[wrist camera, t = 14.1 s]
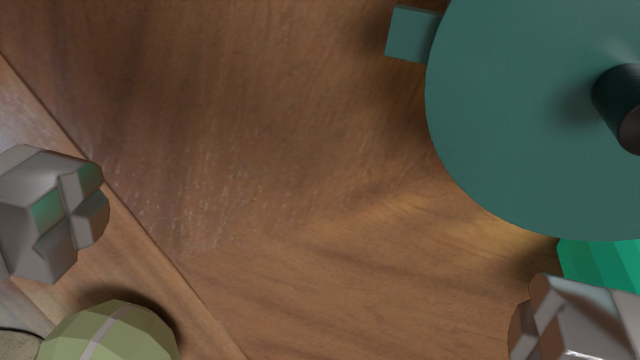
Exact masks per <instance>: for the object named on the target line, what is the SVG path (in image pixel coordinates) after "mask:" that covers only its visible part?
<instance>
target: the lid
mask: <svg viewBox="0 0 640 360" xmlns="http://www.w3.org/2000/svg"><path fill="white" fill-rule="evenodd" d="M424 101H425V114H426V120H427V124H428V129H429V133H430V137H431V139H432V142H433V144H434V147H435V150H436V152H437V154H438V156H439V158H440V160H441V162H442V163H443V165H444V167H445V169H446V170H447V172H448V173H449V174H450V176H451V177H452V178H453V179H454V181H455V182H456V183H457V185H458V186H459V187H460V188H461V189H462V190H463V191H464V192H465V193H466V194H467V195H468V196H469V197H470V198H471V199H473V200H474V201H475V202H477V203H478V204H479V205H481V206H482V207H483V208H485V209H486V210H487V211H489V212H491V213H492V214H494V215H496V216H498V217H499V218H501V219H503V220H505V221H507V222H509V223H512V224H514V225H516V226H518V227H521V228H523V229H526V230H530V231H533V232H536V233H539V234H543V235H547V236H552V237H557V238H562V239H570V240H580V241H623V240H636V239H640V0H450V2H449V4H448V6H447V8H446V10H445V12H444V14H443V16H442V18H441V20H440V22H439V24H438V27H437V30H436V33H435V36H434V39H433V42H432V45H431V48H430V53H429V58H428V63H427V68H426V73H425V89H424Z"/></svg>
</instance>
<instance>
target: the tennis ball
mask: <svg viewBox="0 0 640 360" xmlns="http://www.w3.org/2000/svg"><path fill="white" fill-rule="evenodd" d="M37 360H181V359H180V356H179V352H178V348H177V345H176V341H175V337H174V334H173V331H172V330H171V329H170V327H169V326H168V325H167V324H166V323H165V322H164V321H163V320H162V319H161V318H160V317H159V316H158V315H157V314H156V313H155V312H153V311H151V310H150V309H148V308H147V307H145V306H141V305H137V304H133V303H129V302H125V301H121V300H117V299H113V300H110V301H107V302H104V303H101V304H99V305H96V306H93V307H90V308H88V309H85V310H82V311H80V312H77V313H75V314H72V315H70V316H67V317H65V318H64V319H63V320H62V321H61V322H60V323H59V324H58V326H57V327H56V328H55V329H54V330H53V331H52V332H51V333H50V334H49V335H48V336H47V337H46V338H45V340H44V341H43V342H42V343H41V345H40V349H39V353H38V356H37Z"/></svg>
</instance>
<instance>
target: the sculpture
mask: <svg viewBox="0 0 640 360" xmlns="http://www.w3.org/2000/svg"><path fill="white" fill-rule="evenodd" d="M43 341H44V340H42V339H41V338H38V337H36V336H34V335H31V334H27V333H22V332H15V331H6V330H0V360H37V356H38V353H39V349H40V345H41V343H42V342H43Z"/></svg>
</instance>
